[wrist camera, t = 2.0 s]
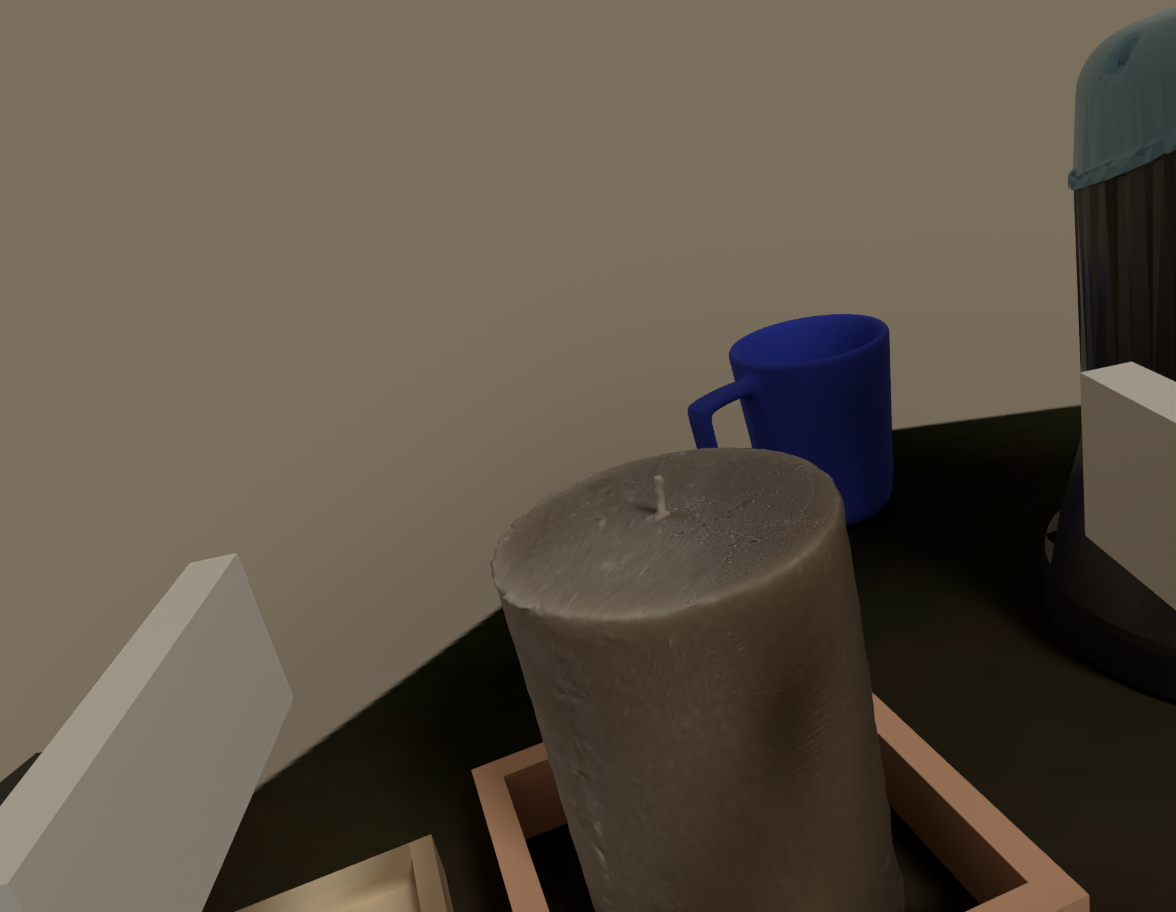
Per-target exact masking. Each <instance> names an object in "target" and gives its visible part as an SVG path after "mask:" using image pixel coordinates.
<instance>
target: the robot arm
mask: <svg viewBox="0 0 1176 912" xmlns="http://www.w3.org/2000/svg"><path fill="white" fill-rule="evenodd" d="M1068 187H1069V188H1071V190H1074V210H1075V234H1076V235H1075V236H1076V260H1077V287H1078V313H1079V336H1080V362H1081V363H1080V364H1081V373H1080V379H1081V413H1082V431H1081V434H1080V437H1079V440H1078V443H1077V446H1076V449H1075V451H1074V454H1073V457H1072V460H1071V463H1070V466H1069V470H1068V473H1067V476H1066V480H1065V483H1064V487H1063V491H1062V495H1061V500H1060V506H1059V511H1058V512H1057V514H1056V515H1055V516H1054V517H1053V519H1052V520H1051V522H1050V524H1049V526H1048V528H1047V531H1046V534H1045V537H1044V540H1043V544H1042V550H1041V573H1042V593H1043V602H1044V607H1045V610H1046V613H1047V615H1048V617H1049V619H1050V621H1051V623H1052V624H1053V626H1054V627H1055V629H1056V630H1057V631H1058V633H1059V634H1060V635H1061V636H1062V637H1063V638H1064V639H1065V641H1066V642H1067V643H1069V644H1070V645H1071V646H1072V647H1073V648H1074V649H1075V650H1076V651H1078V652H1079V653H1080V654H1081V655H1083V656H1084V657H1085V658H1087V659H1088V660H1090V661H1091V662H1093V663H1094V664H1096V665H1097V666H1099V667H1101V668H1102V669H1104V670H1106V671H1107V672H1109V673H1111V674H1113V675H1115V676H1117V677H1119V678H1120V679H1123V680H1125V681H1127V682H1129V683H1131V684H1133V685H1136V686H1138V687H1140V688H1143V689H1145V690H1148V691H1150V692H1153V693H1156V694H1159V695H1161V696H1164V697H1167V698H1170V699H1173V700H1176V7H1174V8H1172V9H1169V10H1166V11H1163V12H1161V13H1158V14H1156V15H1153V16H1150V17H1148V18H1145V19H1143V20H1140V21H1138V22H1135V23H1133V24H1131V25H1129V26H1126V27H1124V28H1123V29H1121V30H1119V31H1117V32H1115V33H1114V34H1112V35H1111V36H1110V37H1108V38H1107V39H1106V40H1104V41H1103V42H1102V43H1101V44H1100V45H1099V46H1098V47H1097V48H1096V49H1095V50H1094V51H1093V52H1092V54H1091V55H1090V56H1089V57H1088V59H1087V60H1086V62H1085V64H1084V66H1083V68H1082V70H1081V72H1080V75H1079V78H1078V81H1077V86H1076V95H1075V127H1074V158H1073V169H1072V170H1071V171H1070V172H1069V174H1068ZM293 699H294V697H293V695H292V692H291V690H290V687H289V685H288V682H287V679H286V677H285V674H284V672H283V669H282V667H281V664H280V662H279V659H278V656H277V654H276V651H275V649H274V647H273V644H272V641H271V639H270V636H269V634H268V631H267V628H266V626H265V623H264V621H263V619H262V616H261V613H260V611H259V608H258V606H257V603H256V600H255V598H254V595H253V593H252V590H251V588H250V585H249V583H248V580H247V577H246V575H245V572H244V570H243V567H242V565H241V562H240V560H239V557H238V555H237V553H235V554H230V555H226V556H221V557H216V558H211V559H207V560H202V561H197V562H193V563H190V564H189V565H188V566H187V567H186V569H185V570H184V571H183V573H182V574H181V575H180V576H179V578H178V579H177V580H176V582H175V583H174V584H173V586H172V587H171V588H170V589H169V591H168V592H167V593H166V594H165V596H164V597H163V598H162V599H161V601H160V602H159V603H158V605H157V606H156V607H155V608H154V610H153V611H152V612H151V614H150V615H149V616H148V617H147V619H146V620H145V621H144V623H143V624H142V625H141V626H140V628H139V629H138V630H137V631H136V633H135V634H134V635H133V637H132V638H131V639H130V640H129V642H128V643H127V645H126V646H125V647H124V648H123V650H122V651H121V652H120V653H119V655H118V656H117V657H116V658H115V660H114V661H113V663H112V664H111V665H110V666H109V667H108V669H107V670H106V671H105V673H104V674H103V675H102V676H101V678H100V679H99V680H98V681H97V683H96V684H95V686H94V687H93V688H92V689H91V690H90V692H89V693H88V694H87V696H86V697H85V698H84V699H83V701H82V702H81V704H80V705H79V706H78V707H77V708H76V710H75V711H74V712H73V714H72V715H71V716H70V717H69V719H68V720H67V721H66V723H65V724H64V725H63V726H62V728H61V729H60V730H59V731H58V733H57V734H56V735H55V737H54V738H53V739H52V741H51V742H50V743H49V744H48V746H47V747H46V748H45V750H44V751H43V752H41V753H36V754H35V755H33V756H32V757H31V758H30V759H29V760H27V761H26V762H25V763H24V764H22V765H21V766H20V767H19V768H17V769H16V770H15V771H14V772H13V773H11V774H10V775H9V776H8V777H6V778H5V779H4V780H3V781H2V782H0V912H202V910H203V908H204V905H205V903H206V901H207V898H208V896H209V894H210V891H211V889H212V887H213V884H214V882H215V880H216V877H217V875H218V873H219V871H220V868H221V866H222V864H223V861H224V859H225V857H226V854H227V852H228V850H229V847H230V845H231V843H232V840H233V838H234V836H235V834H236V831H237V829H238V827H239V824H240V822H241V820H242V817H243V815H244V813H245V810H246V808H247V806H248V803H249V801H250V799H251V796H252V794H253V792H254V790H255V787H256V785H257V783H258V780H259V778H260V776H261V773H262V771H263V769H264V766H265V764H266V762H267V759H268V757H269V755H270V752H271V750H272V748H273V746H274V743H275V741H276V739H277V736H278V734H279V732H280V729H281V727H282V725H283V722H284V720H285V718H286V715H287V713H288V711H289V709H290V706H291V704H292V702H293Z"/></svg>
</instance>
